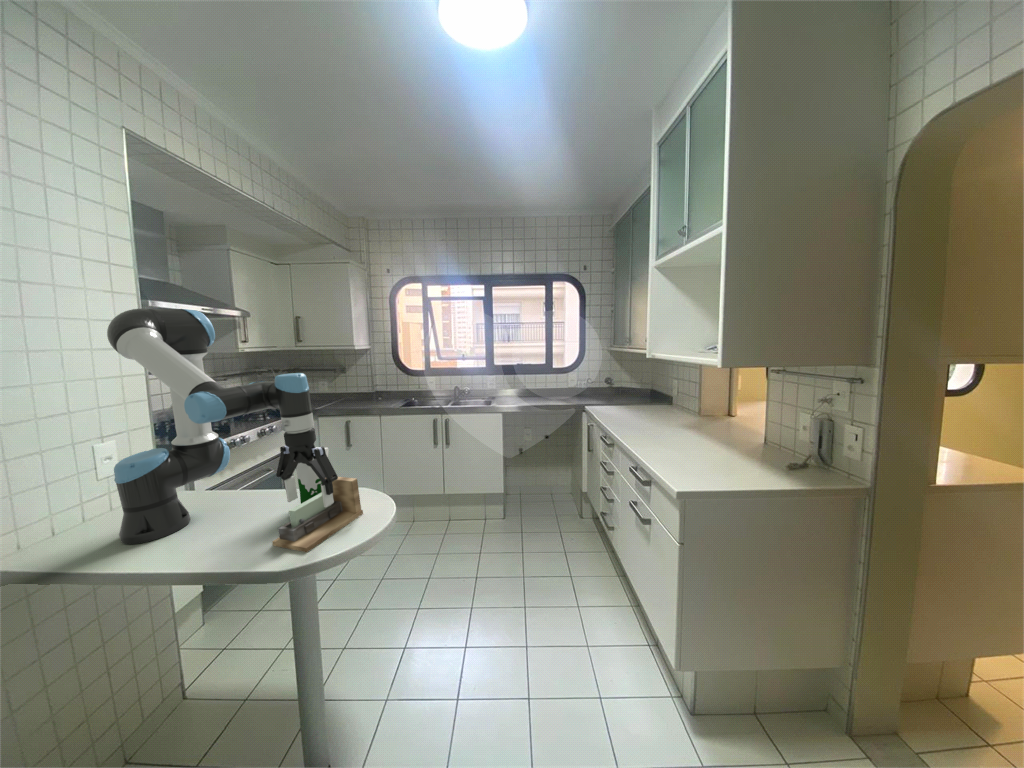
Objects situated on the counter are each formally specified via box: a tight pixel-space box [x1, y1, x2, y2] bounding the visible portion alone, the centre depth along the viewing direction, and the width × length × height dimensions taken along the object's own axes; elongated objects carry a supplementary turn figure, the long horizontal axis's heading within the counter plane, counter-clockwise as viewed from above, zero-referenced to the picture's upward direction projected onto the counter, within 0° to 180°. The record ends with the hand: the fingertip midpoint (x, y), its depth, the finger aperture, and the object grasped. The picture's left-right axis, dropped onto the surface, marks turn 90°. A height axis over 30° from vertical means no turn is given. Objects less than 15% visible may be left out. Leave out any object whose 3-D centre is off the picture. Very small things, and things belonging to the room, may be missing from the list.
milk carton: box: [295, 446, 329, 504], centre depth 120 cm, size 9×9×20 cm
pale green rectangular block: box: [288, 492, 331, 528], centre depth 105 cm, size 3×12×7 cm, turn 162°
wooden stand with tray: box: [271, 476, 364, 553], centre depth 104 cm, size 12×20×11 cm, turn 160°
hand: (310, 502), depth 105 cm, fingers open, 13 cm apart
